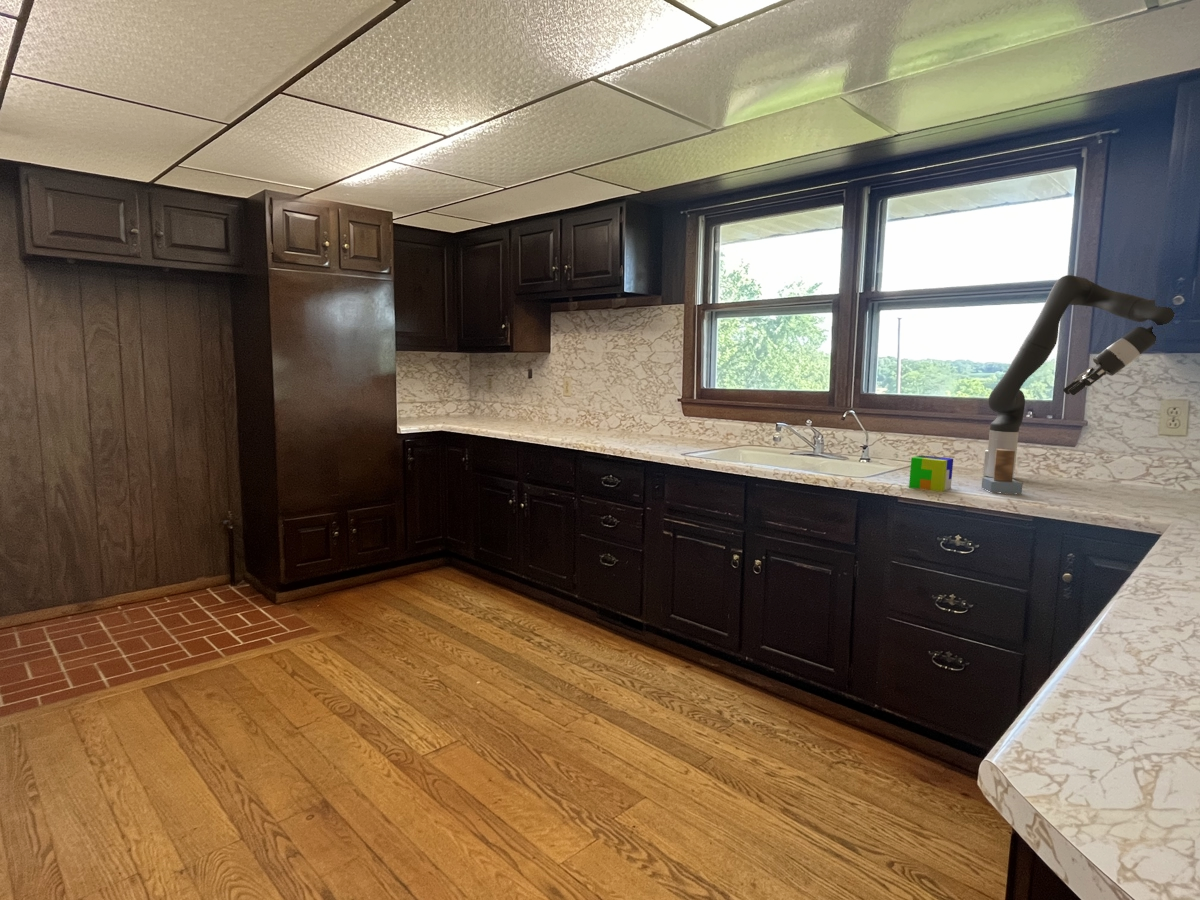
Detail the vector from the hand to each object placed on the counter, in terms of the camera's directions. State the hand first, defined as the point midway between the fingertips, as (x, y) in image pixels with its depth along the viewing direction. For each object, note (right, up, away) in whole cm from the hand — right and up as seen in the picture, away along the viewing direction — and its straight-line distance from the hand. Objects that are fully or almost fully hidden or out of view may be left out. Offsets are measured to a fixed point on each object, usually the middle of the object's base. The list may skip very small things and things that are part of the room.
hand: (1067, 392), depth 213 cm
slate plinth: (-17, -32, +7) cm, 37 cm away
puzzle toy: (-39, -31, +10) cm, 51 cm away
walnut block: (-17, -28, +6) cm, 33 cm away
